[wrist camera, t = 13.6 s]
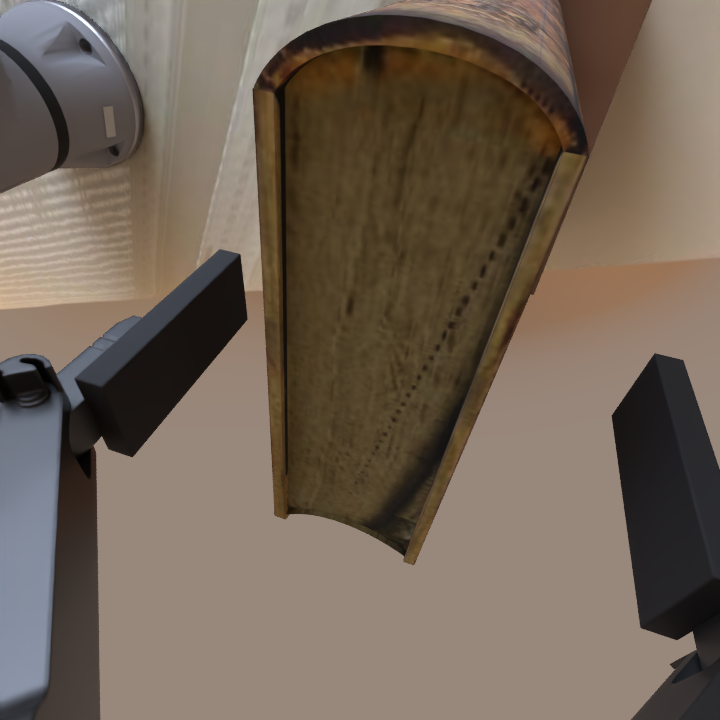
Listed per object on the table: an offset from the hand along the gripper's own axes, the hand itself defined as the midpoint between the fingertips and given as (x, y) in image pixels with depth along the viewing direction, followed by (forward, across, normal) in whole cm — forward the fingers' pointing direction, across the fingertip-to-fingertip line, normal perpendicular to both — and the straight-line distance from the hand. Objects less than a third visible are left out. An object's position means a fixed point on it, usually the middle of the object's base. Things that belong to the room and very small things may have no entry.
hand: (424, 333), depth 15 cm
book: (+21, -1, 0) cm, 21 cm away
